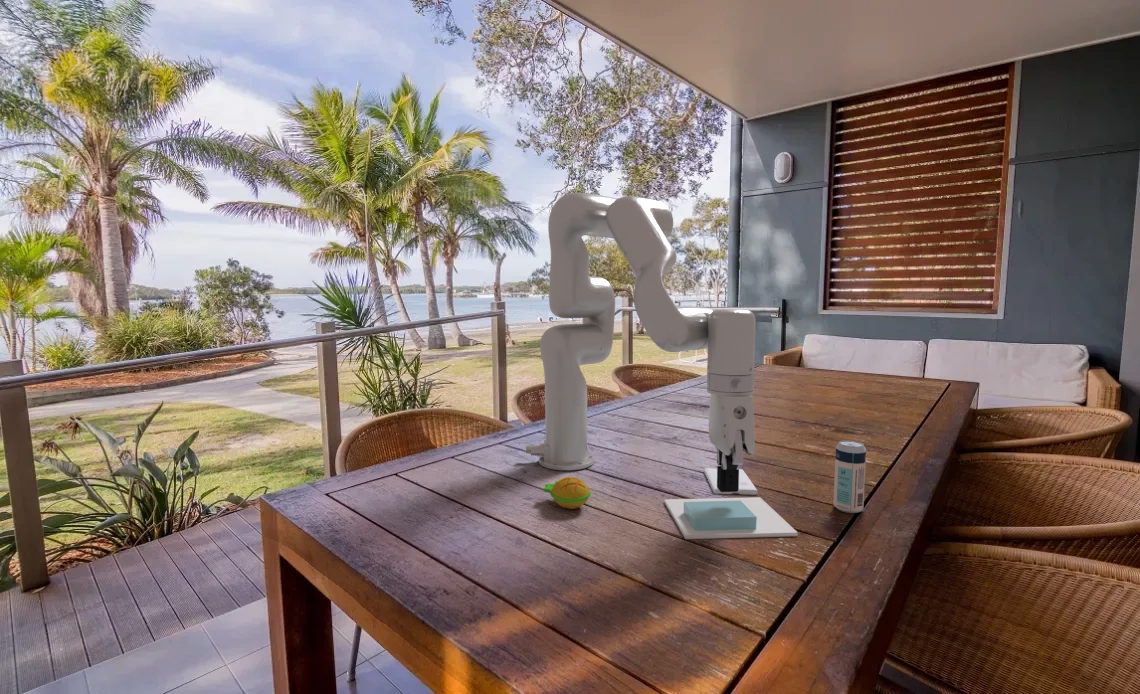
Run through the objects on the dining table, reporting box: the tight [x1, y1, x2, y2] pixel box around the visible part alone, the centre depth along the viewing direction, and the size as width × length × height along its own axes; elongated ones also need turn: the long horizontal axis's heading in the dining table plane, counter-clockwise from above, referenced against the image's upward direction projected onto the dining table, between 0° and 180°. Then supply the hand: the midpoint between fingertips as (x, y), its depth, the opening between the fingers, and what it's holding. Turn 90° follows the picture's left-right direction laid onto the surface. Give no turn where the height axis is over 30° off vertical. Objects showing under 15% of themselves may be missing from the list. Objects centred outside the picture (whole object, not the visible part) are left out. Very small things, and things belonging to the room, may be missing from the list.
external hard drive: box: [703, 467, 758, 496], centre depth 110 cm, size 2×8×12 cm
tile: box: [683, 501, 757, 531], centre depth 90 cm, size 10×2×7 cm
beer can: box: [832, 440, 867, 514], centre depth 96 cm, size 5×5×12 cm
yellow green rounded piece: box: [542, 476, 592, 510], centre depth 99 cm, size 7×10×5 cm
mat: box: [663, 496, 799, 540], centre depth 93 cm, size 18×15×1 cm
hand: (727, 490), depth 92 cm, fingers closed
